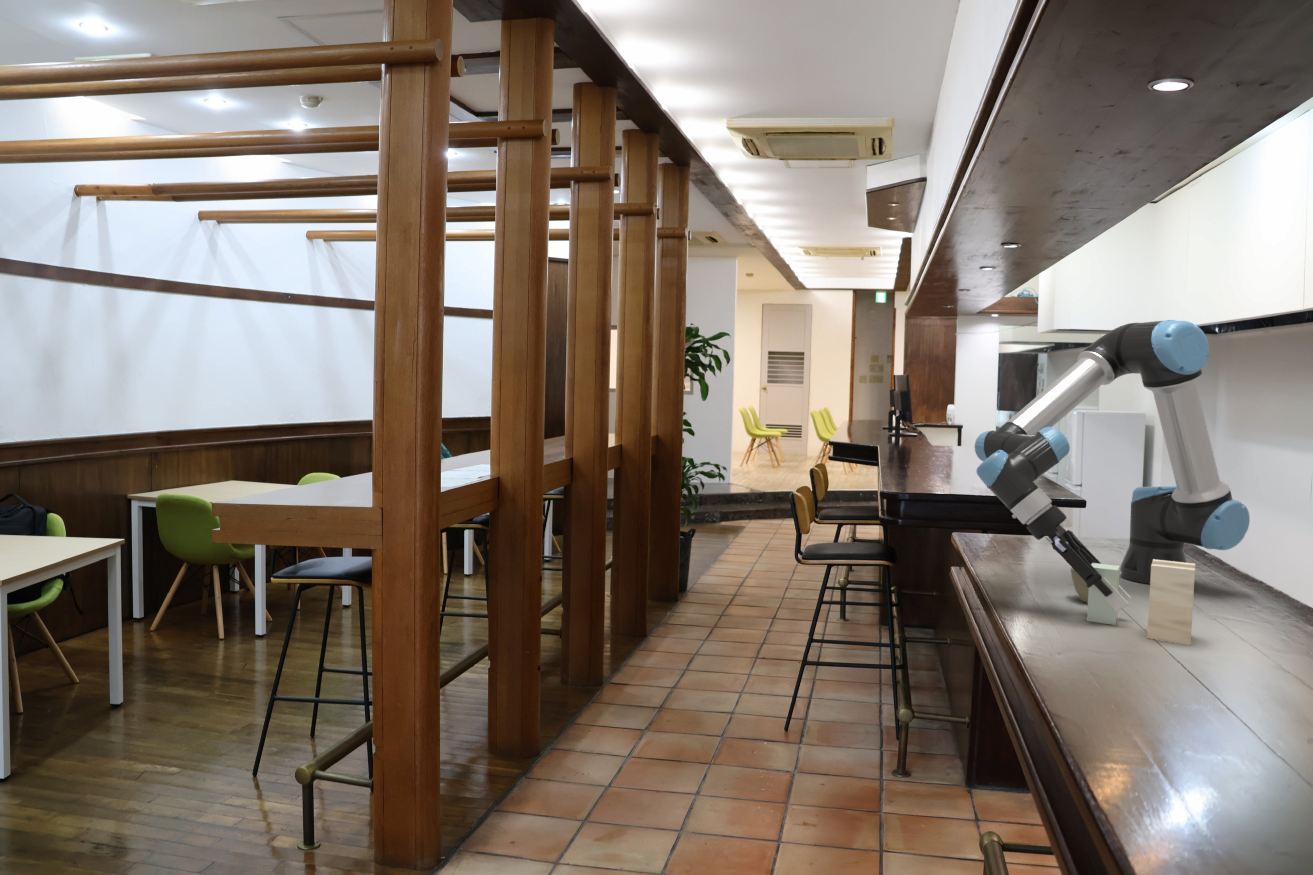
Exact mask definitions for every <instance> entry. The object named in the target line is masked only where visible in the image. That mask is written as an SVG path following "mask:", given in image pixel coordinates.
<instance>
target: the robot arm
mask: <svg viewBox="0 0 1313 875" xmlns="http://www.w3.org/2000/svg"><path fill="white" fill-rule="evenodd" d="M1209 355H1210V344H1209V340H1208V338H1207V336H1206V334H1205V332H1204V331H1203V330H1202V329H1201V327H1199V326H1198V325H1197V324H1194V323H1193V322H1190V321H1188V320H1187V321H1186V320H1177V319H1175V320H1174V319H1167V320H1158V321H1156V320H1155V321H1145V322H1131V323H1129V322H1128V323H1126V324H1123V325H1120V326H1118V327H1116V328H1114V329H1112V330H1110V331H1108V332H1107V333H1105V334H1104V335H1102V336H1100V337H1099V338H1098V339H1096V340H1095V341H1094V342H1093V343H1091V344H1090V345H1089V346H1087V347H1086V348H1085V349H1083V351H1082V352H1080V353H1079V354H1078V356H1077V361H1076V363H1074V364H1073V365H1072V366H1071V367H1070V368H1068V369H1067V370H1066V371H1065V372H1064V373H1062V374H1061V375H1060V376H1059V377H1058V378H1057V379H1056V380H1054V381H1053V382H1052V383H1051V384H1050V385H1049V386H1047V387H1046V388H1045V389H1044V390H1042V391H1041V392H1040V393H1039V394H1038V395H1037V396H1036V397H1034V398H1033V399H1031V401H1030V402H1029V403H1027V404H1026V405H1025V406H1024V407H1022V409H1020V410H1019V411H1018V412H1016V414H1014V415H1013V416H1012V417H1011V418H1010V419H1009V420H1007V421H1006V422H1005V423H1003V425H1001V426H1000V427H999V428H998V429H996V430H989V431H983V432H982V433H980V434H979V435H978V437H977V438H976V439H975V443H974V453H975V455H976V457H977V458H978V459H979V460H981V461H982V462H981V463H980V464H979V465H978V466H977V468H976V472H975V473H976V475H977V476H978V477H979V479H980V481H982V483H983V484H984V485H985V486H986V488H987V489H989V490H990V491H991V492H992V493H993V494H994V495H995V496H996V497H997V499H998V500H1000V502H1002V504H1004V506H1005V507H1006V508H1007V510H1009V511H1010V512H1011V513H1012V515H1011V517H1012V519H1018V520H1019V522H1020V523H1021V524H1022V525H1025V524H1026V529H1027V531H1028V532H1029V533H1030V534H1031V535H1032V536H1033V537H1034V538H1035V539H1036V540H1038V541H1040V540H1042V539H1043V538H1044V537H1045V536H1047V537H1048V538H1049V540H1050V541H1051V546H1052V549H1053V550H1054V551H1055V552H1056V553H1057V554H1059V555H1060V556H1061V558H1063V559H1064V561H1066V563H1067V564H1068V565H1069V566H1070V568H1071V567H1072V568H1073V569H1074V570H1075V571H1076V572H1077V573H1078V574H1079V575H1080V576H1081V578H1082V579H1083V580H1084V581H1085V582H1086V583H1087V585H1086V586H1087V587H1088V588H1090V587H1091V586H1093V587H1094V588H1095V589H1096V590H1097V591H1098V592H1099V593H1100V594H1101V596H1102V597H1103V598H1104V599H1105V600H1106V601H1107V602H1108V603H1109V604H1110V605H1111V606H1112V607H1113V608H1114V609H1115V610H1116V611H1117V613H1118V612H1119V611H1121V610H1122V609H1123V608H1124V607H1126V606H1128V605H1129V602H1128V601H1129V600H1130V599H1131V596H1130V594H1128V593H1127V591H1126V590H1125V589H1123V587H1122V586H1121V585H1120V584H1119V591H1117V590H1116V589H1115V588H1114V587H1113V586H1112V585H1111V584H1110V583H1109V582H1108V581H1107V580H1106V579H1105V578H1104V577H1103V578H1102V577H1101V575H1100V574H1099V573H1098V572H1097V571H1096V570H1095V569H1094V567H1093V566H1092V565H1091V564H1092V563H1098V564H1102V563H1101V562H1100V561H1099V559H1098V558H1096V556H1095V555H1094V554H1093V553H1092V552H1091V551H1090V550H1089V549H1088V547H1086V546H1085V545H1084V544H1083V543H1082V542H1081V540H1079V538H1078V537H1077V536H1076V535H1075V533H1074V532H1073V531H1071V530H1069V529H1068V530H1066V528H1064V527H1063V526H1061V524H1063V522H1064V521H1066V520H1067V516H1066V514H1065V513H1064V512H1063V511H1062V510H1061V509H1060V508H1059V507H1058V506H1057V505H1054V504H1053V505H1052V503H1053V502H1052V499H1051V498H1050V497H1049V496H1048V495H1047V494H1046V493H1045V492H1044V491H1043V490H1042V489H1041V488H1040V487H1039V486H1038V485H1037V484H1036V483H1035V481H1036V480H1038V478H1040V477H1041V476H1042V475H1044V474H1045V473H1046V472H1048V471H1049V470H1050V469H1052V468H1054V466H1056V465H1057V464H1059V463H1060V462H1061V461H1062V460H1063V459H1064V458H1065V457H1066V456H1067V455H1068V454H1069V452H1070V449H1071V447H1070V443H1069V441H1068V438H1067V437H1066V436H1065V434H1064V433H1063V432H1061V431H1060V430H1059V429H1057V428H1055V425H1056V424H1058V423H1059V422H1060V421H1061V420H1063V418H1065V417H1066V416H1067V415H1068V414H1069V413H1070V412H1071V411H1073V410H1074V409H1075V408H1076V407H1077V406H1079V405H1080V404H1081V403H1082V402H1083V401H1085V400H1086V398H1088V397H1089V396H1091V395H1092V394H1093V393H1094V392H1095V391H1096V390H1098V388H1100V387H1101V386H1107V385H1110V384H1111V383H1113V381H1114V380H1116V379H1118V378H1120V377H1122V376H1126V375H1129V374H1139V375H1140V378H1141V381H1142V386H1143V387H1144V388H1145V389H1147V390H1149V391H1151V392H1152V394H1153V398H1154V401H1155V406H1156V410H1157V413H1158V417H1159V422H1160V425H1161V429H1162V433H1163V438H1164V442H1165V445H1166V449H1167V450H1166V451H1167V454H1168V456H1169V457H1168V458H1169V461H1170V465H1171V470H1172V473H1173V478H1174V481H1175V485H1174V486H1171V485H1170V486H1167V485H1166V486H1165V485H1164V486H1138V487H1136V488H1135V489H1134V490H1133V491H1132V495H1131V496H1132V497H1131V502H1130V522H1129V523H1130V525H1129V526H1130V527H1129V544H1128V548H1127V551H1126V552H1125V555H1124V557H1123V559H1122V562H1121V563H1120V565H1119V566H1120V572H1121V573H1122V574H1121V577H1122V579H1126V580H1128V581H1129V580H1130V581H1133V582H1138V583H1143V584H1148V585H1150V578H1151V564H1152V561H1153V559H1156V560H1165V561H1175V562H1184V563H1188V562H1187V557H1186V554H1185V551H1184V549H1185V546H1184V545H1185V544H1188V545H1191V546H1195V547H1196V546H1198V547H1202V548H1205V549H1207V550H1216V551H1217V550H1218V551H1229V550H1230V549H1233V548H1235V547H1236V546H1238V545H1239V544H1240V543H1241V542H1242V541H1243V539H1244V538H1245V536H1246V533H1247V532H1248V531H1249V526H1250V512H1249V509H1248V508H1247V506H1246V505H1245V503H1242V502H1241V501H1240V500H1236V499H1233V495H1232V492H1231V488H1230V486H1229V484H1227V483H1225V482H1223V481H1221V479H1220V475H1219V471H1218V467H1217V463H1216V459H1215V455H1214V451H1213V447H1212V443H1211V438H1210V435H1209V430H1208V427H1207V422H1206V419H1205V414H1204V410H1203V405H1202V401H1201V397H1200V394H1199V390H1198V384H1197V382H1198V381H1199V380H1200V378H1201V377H1202V375H1203V372H1202V369H1203V368H1204V367H1205V366H1206V364H1207V362H1208V358H1207V357H1209Z"/></svg>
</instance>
